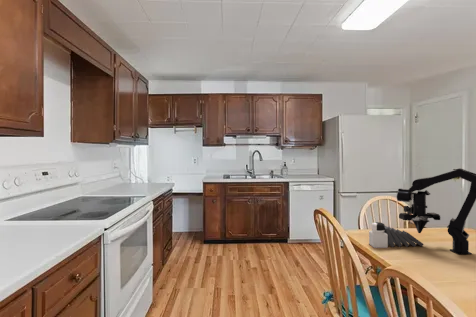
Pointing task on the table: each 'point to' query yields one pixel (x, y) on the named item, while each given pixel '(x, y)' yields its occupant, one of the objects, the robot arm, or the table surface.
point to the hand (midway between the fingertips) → (419, 232)
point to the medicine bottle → (378, 236)
